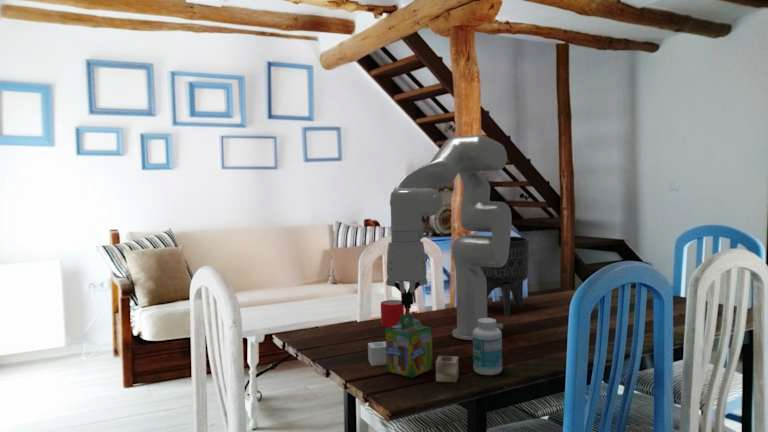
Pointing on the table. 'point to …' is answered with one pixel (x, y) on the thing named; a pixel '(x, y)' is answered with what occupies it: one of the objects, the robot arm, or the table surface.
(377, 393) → the table surface
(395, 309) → the mug
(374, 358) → the marked block white
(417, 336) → the chalk box
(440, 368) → the marked block beech
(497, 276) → the planter
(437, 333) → the table surface
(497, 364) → the pill bottle
